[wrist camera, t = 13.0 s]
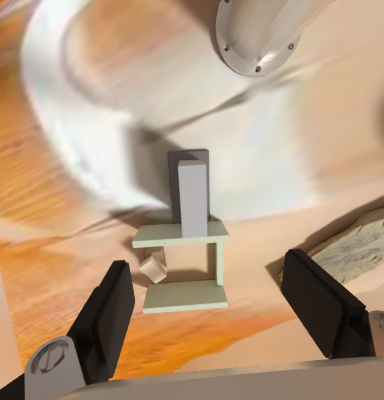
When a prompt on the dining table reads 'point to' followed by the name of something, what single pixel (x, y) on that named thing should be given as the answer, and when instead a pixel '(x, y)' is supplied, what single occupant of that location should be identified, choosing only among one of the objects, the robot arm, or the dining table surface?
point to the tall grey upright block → (193, 198)
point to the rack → (184, 291)
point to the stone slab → (352, 248)
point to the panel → (174, 178)
